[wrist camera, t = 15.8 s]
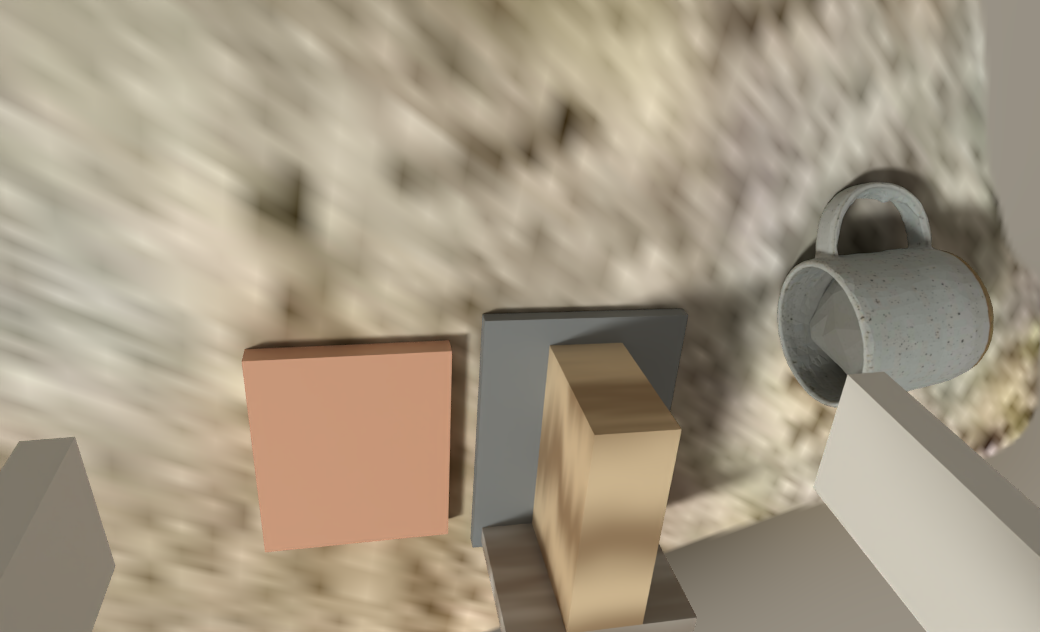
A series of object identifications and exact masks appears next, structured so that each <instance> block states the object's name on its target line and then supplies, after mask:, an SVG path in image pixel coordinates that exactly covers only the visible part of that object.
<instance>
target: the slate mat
mask: <svg viewBox="0 0 1040 632" xmlns="http://www.w3.org/2000/svg"><path fill="white" fill-rule="evenodd" d="M687 319H688V314H687V313H686V312H685V311H684V310H683V309H650V310H614V311H578V312H542V313H507V314H483V316H482V334H481V353H480V372H479V391H478V410H477V429H476V448H475V466H474V485H473V504H472V523H471V542H472V547H483V546H482V542H481V537H482V528H484V527H495V526H506V525H517V524H528V523H532V518H533V508H534V498H535V488H536V478H537V468H538V458H539V448H540V438H541V428H542V418H543V408H544V398H545V388H546V378H547V368H548V358H549V348H550V345H574V344H601V343H623V344H624V346H625V347H626V349H627V350H628V352H629V353H630V355H631V356H632V357H633V359H634V360H635V362H636V363H637V365H638V366H639V368H640V369H641V371H642V372H643V374H644V375H645V376H646V378H647V379H648V381H649V382H650V384H651V385H652V387H653V388H654V390H655V391H656V392H657V394H658V395H659V397H660V398H661V400H662V401H663V403H664V404H665V406H666V407H667V409H668V410H669V411H670V408H671V403H672V398H673V393H674V387H675V382H676V377H677V372H678V366H679V361H680V356H681V351H682V345H683V340H684V335H685V330H686V324H687Z"/></svg>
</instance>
